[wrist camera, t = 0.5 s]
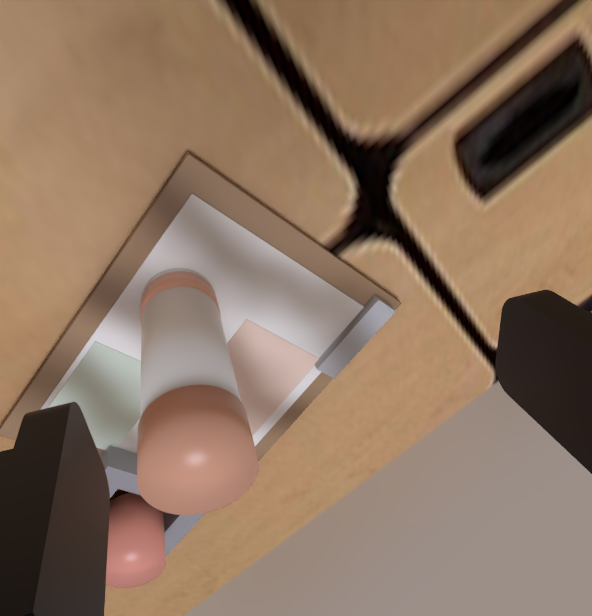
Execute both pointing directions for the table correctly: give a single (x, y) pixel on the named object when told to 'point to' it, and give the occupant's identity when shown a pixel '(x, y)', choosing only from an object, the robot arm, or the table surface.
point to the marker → (189, 401)
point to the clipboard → (233, 309)
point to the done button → (134, 542)
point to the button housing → (124, 477)
